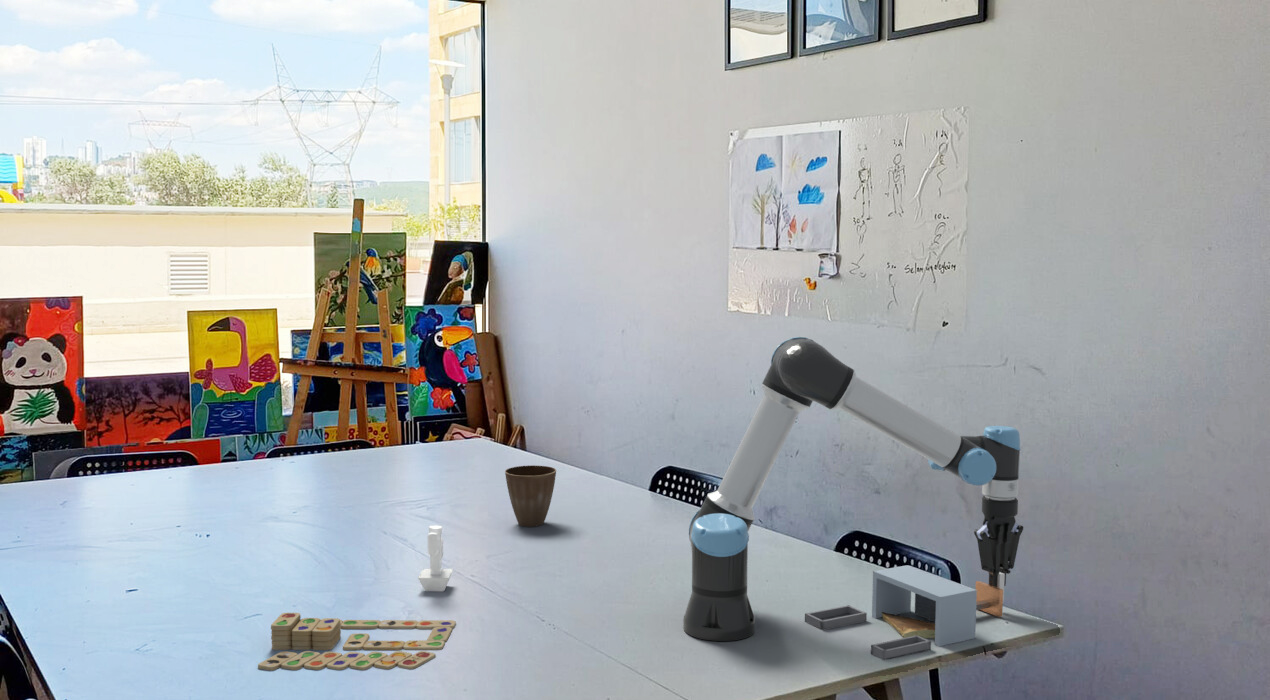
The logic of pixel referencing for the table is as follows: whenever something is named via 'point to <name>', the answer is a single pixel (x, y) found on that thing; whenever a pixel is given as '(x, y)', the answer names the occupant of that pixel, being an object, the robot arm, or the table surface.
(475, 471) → the table surface
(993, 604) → the plunger
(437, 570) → the figurine
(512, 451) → the table surface
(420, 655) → the pile of dominoes
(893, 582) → the tunnel
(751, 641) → the table surface
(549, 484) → the plant pot
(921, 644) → the tray
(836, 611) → the tray
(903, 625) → the pizza slice
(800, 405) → the robot arm
